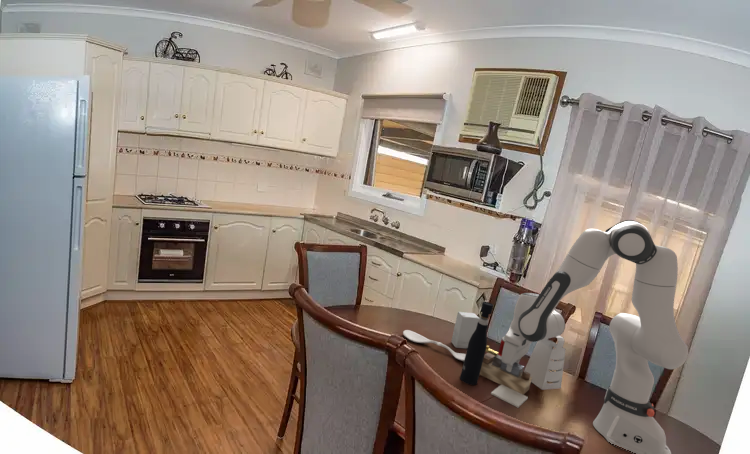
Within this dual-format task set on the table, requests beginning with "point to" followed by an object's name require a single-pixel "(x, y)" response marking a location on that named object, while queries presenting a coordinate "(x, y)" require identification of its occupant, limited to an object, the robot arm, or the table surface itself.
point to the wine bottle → (476, 348)
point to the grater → (547, 363)
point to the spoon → (421, 339)
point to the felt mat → (509, 395)
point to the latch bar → (491, 351)
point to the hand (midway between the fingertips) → (511, 368)
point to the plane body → (504, 374)
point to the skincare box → (464, 329)
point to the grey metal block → (515, 371)
